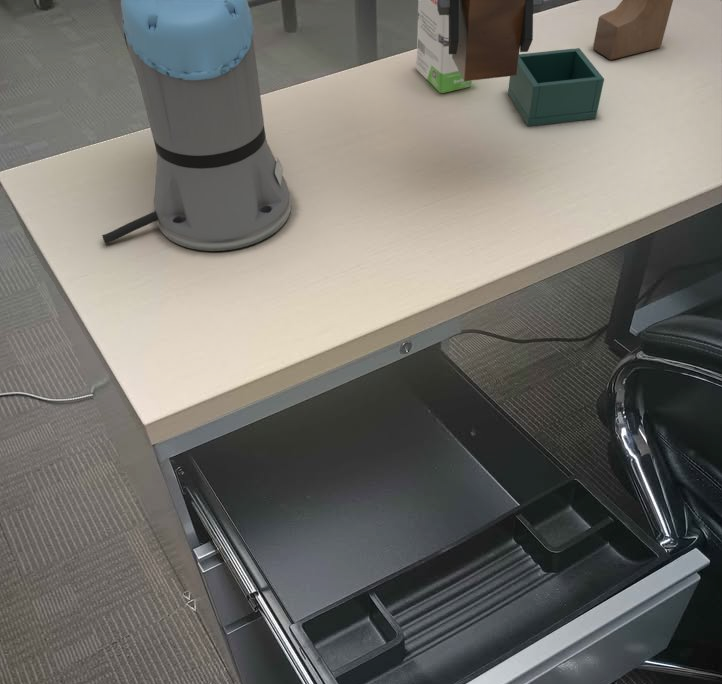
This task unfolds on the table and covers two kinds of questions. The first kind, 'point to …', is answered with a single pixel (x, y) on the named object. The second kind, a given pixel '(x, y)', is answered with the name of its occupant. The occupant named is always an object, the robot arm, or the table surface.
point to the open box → (556, 87)
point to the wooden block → (632, 28)
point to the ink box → (436, 49)
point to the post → (489, 38)
